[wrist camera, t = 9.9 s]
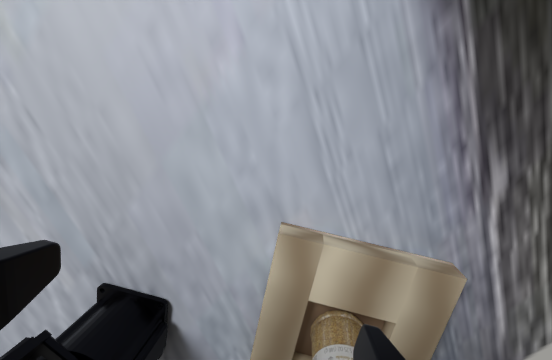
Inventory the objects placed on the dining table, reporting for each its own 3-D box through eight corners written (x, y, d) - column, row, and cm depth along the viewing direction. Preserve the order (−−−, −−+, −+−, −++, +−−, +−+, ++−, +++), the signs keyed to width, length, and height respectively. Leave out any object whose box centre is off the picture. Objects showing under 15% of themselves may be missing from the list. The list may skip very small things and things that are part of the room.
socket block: (246, 376, 25) (241, 398, 23) (281, 222, 21) (278, 233, 19) (386, 416, 24) (392, 442, 22) (452, 263, 20) (467, 279, 18)
